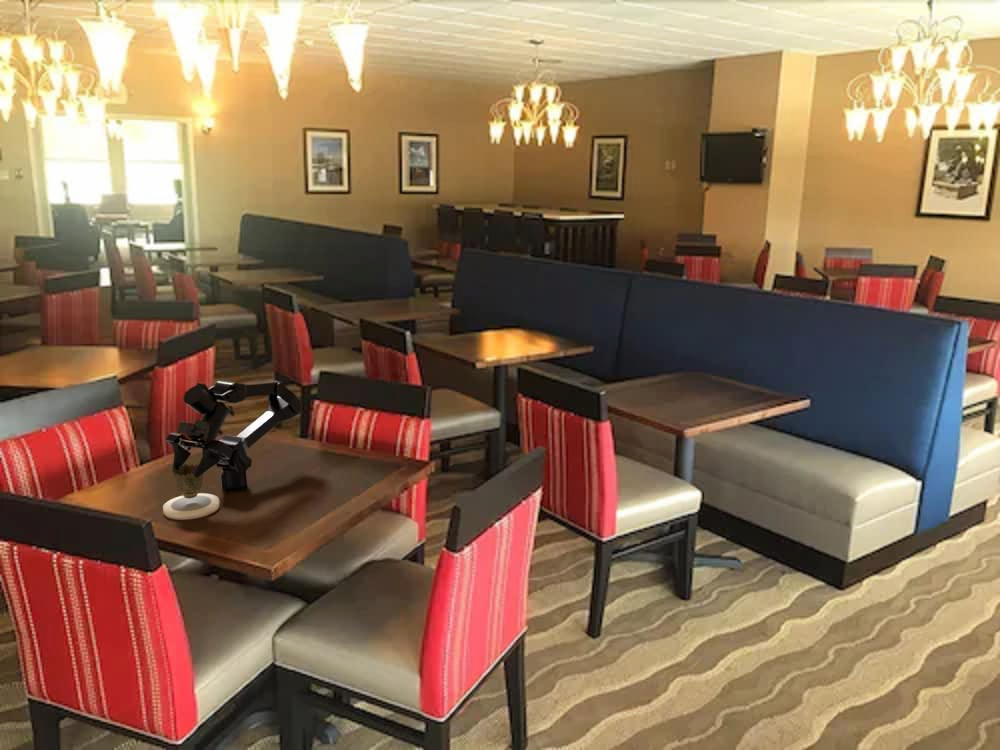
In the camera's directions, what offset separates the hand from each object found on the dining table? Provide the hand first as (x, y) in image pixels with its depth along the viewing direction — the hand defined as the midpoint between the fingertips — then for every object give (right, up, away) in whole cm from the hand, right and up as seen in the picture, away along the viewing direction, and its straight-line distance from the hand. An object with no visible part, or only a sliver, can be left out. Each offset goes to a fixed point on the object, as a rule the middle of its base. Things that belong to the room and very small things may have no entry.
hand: (184, 474), depth 211 cm
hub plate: (0, -9, +4) cm, 10 cm away
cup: (0, -6, +3) cm, 7 cm away
